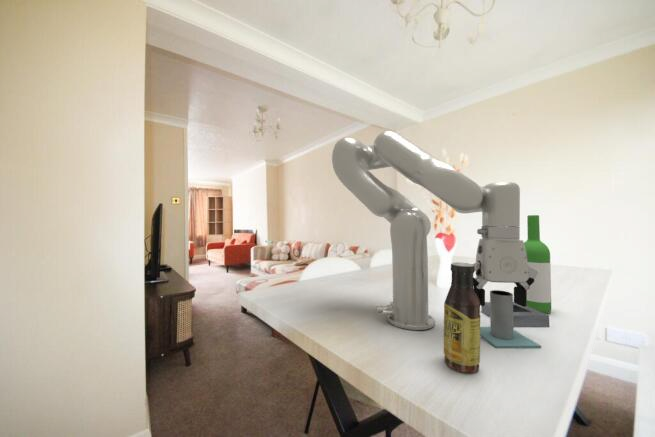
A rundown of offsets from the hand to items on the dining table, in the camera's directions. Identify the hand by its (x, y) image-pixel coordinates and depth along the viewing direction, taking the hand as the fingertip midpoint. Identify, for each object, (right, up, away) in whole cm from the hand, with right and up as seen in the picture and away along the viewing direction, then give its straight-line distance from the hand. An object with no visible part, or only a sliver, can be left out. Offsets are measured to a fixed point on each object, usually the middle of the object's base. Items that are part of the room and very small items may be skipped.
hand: (499, 304), depth 61 cm
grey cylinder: (0, -8, 0) cm, 8 cm away
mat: (+1, -8, 0) cm, 8 cm away
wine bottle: (+24, -8, +18) cm, 31 cm away
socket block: (+12, -8, +11) cm, 18 cm away
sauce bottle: (-16, -8, -12) cm, 21 cm away
